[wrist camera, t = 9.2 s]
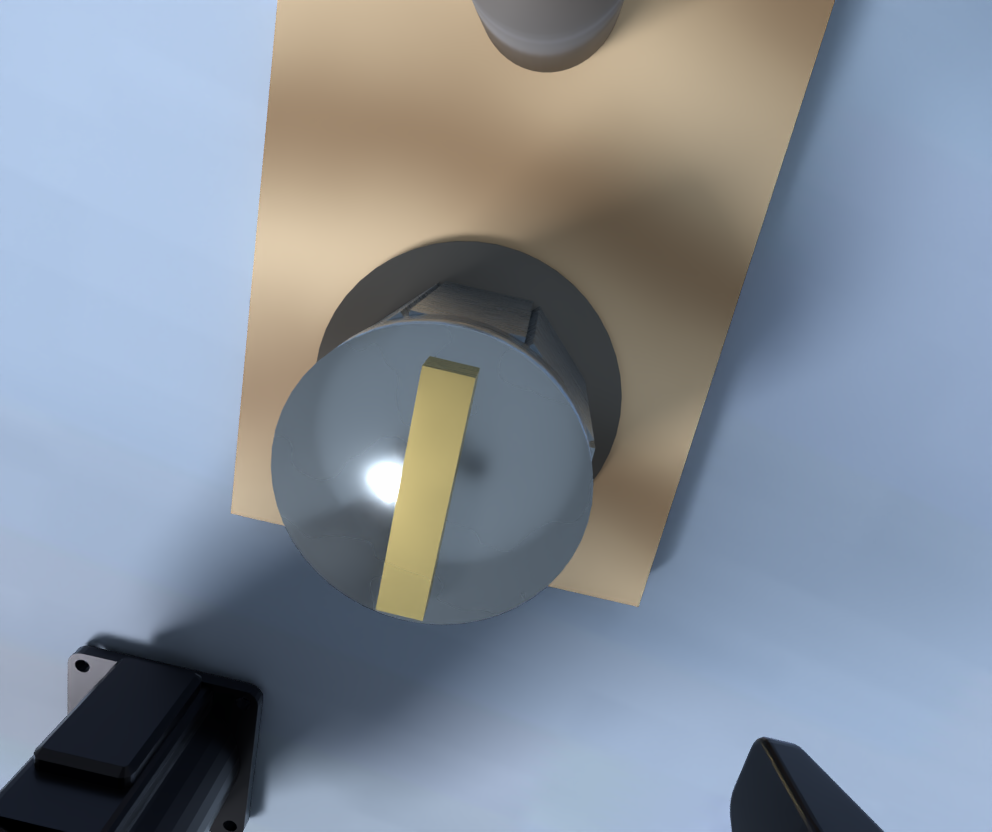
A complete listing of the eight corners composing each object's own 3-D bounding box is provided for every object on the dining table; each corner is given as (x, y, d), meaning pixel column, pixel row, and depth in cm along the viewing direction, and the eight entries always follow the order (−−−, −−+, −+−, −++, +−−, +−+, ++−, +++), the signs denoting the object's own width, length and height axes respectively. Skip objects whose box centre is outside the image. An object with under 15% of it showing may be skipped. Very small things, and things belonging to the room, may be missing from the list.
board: (634, 584, 21) (658, 706, 16) (248, 496, 21) (153, 590, 16) (891, -228, 14) (1067, -450, 9) (332, -346, 14) (216, -625, 10)
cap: (550, 528, 19) (548, 678, 13) (337, 477, 19) (239, 604, 13) (610, 315, 17) (638, 379, 11) (371, 259, 17) (275, 293, 11)
